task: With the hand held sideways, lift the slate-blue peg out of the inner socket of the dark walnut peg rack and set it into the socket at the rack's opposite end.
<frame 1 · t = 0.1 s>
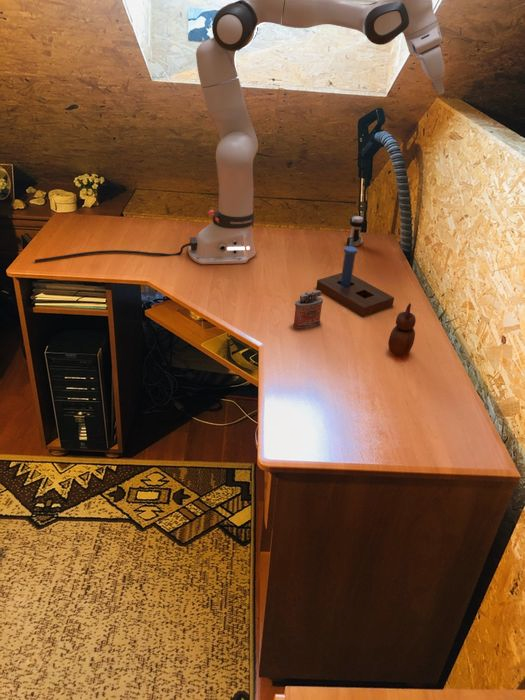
hand: (439, 90, 159), 54 cm above the table, tool tilted 30°, fingers open, 8 cm apart
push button: (355, 245, 205), on the table
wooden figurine: (398, 353, 146), on the table
rack: (353, 297, 170), on the table
lighter: (306, 326, 155), on the table
peg: (344, 292, 173), resting in rack
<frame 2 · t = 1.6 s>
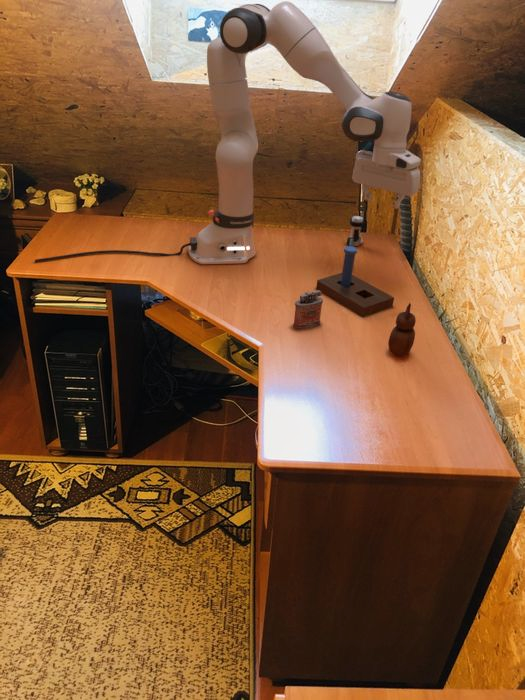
hand: (381, 204, 168), 24 cm above the table, tool pointing down, fingers open, 8 cm apart
nothing on the table moved.
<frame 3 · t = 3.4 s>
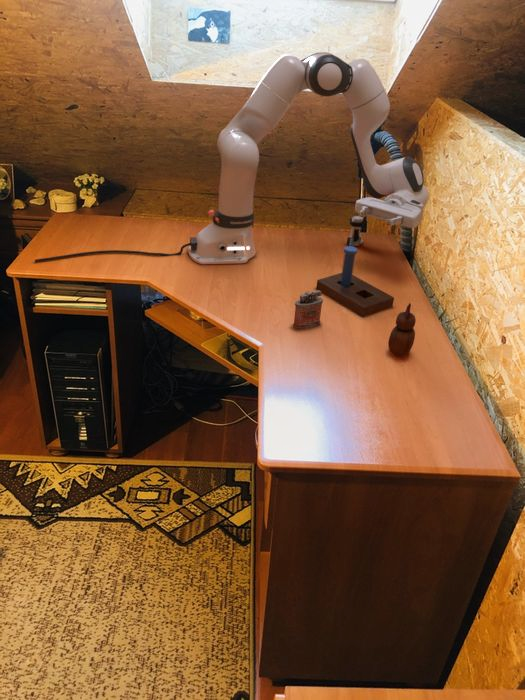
hand: (374, 218, 170), 20 cm above the table, tool horizontal, fingers open, 8 cm apart
nothing on the table moved.
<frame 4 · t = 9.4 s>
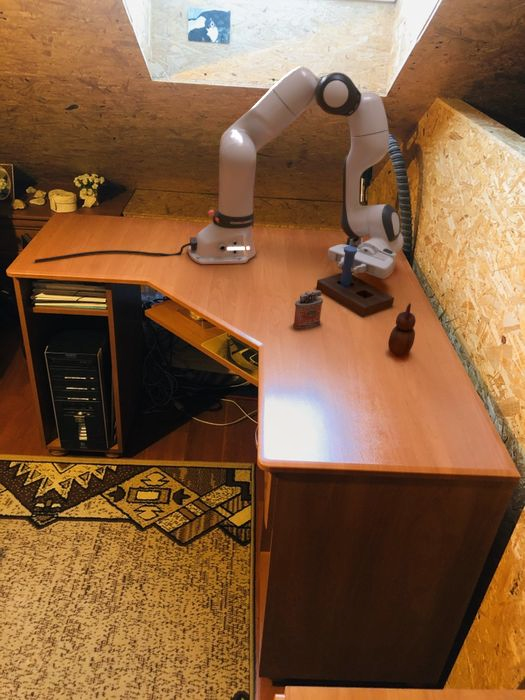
hand: (346, 268, 168), 8 cm above the table, tool horizontal, fingers closed on peg, 3 cm apart
peg: (344, 292, 173), resting in rack, touching gripper
everything else where it was.
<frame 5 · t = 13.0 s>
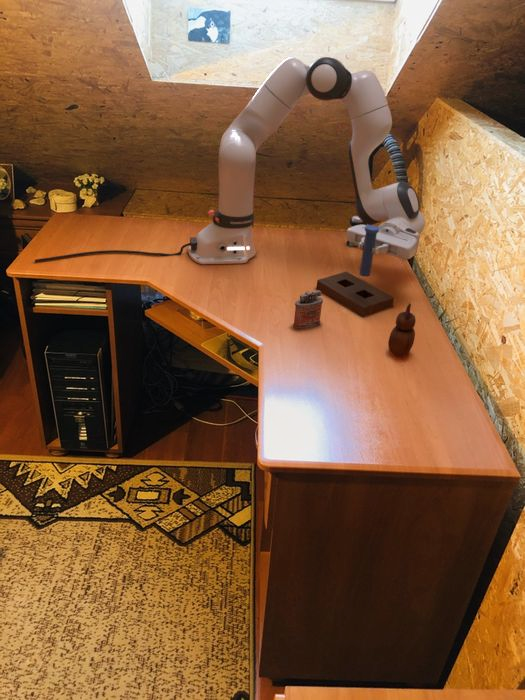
hand: (367, 249, 159), 17 cm above the table, tool horizontal, fingers closed on peg, 3 cm apart
peg: (364, 274, 164), point 9 cm above the table, touching gripper
everything else where it was.
when the fingers open (8 cm above the table, at t = 16.4 s): peg stays where it is, resting in rack.
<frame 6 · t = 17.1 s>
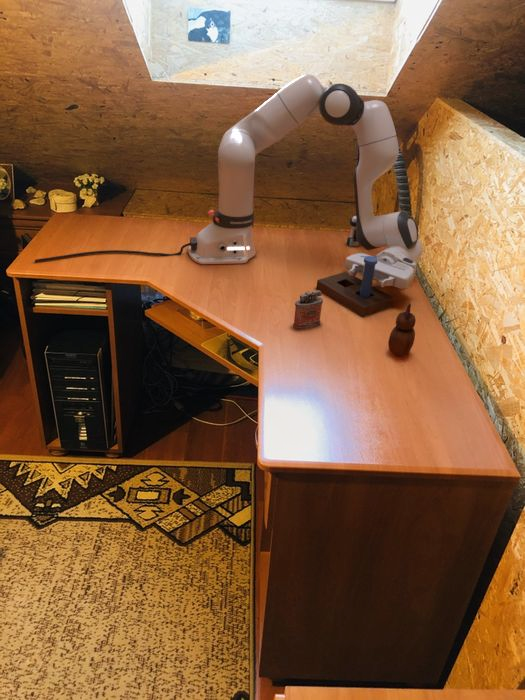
hand: (365, 278, 162), 8 cm above the table, tool horizontal, fingers open, 8 cm apart
peg: (363, 303, 167), resting in rack
everything else where it was.
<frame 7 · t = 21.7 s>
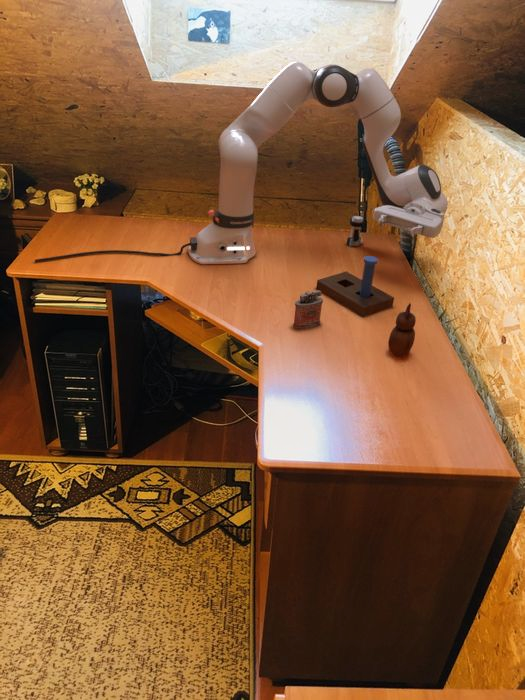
hand: (394, 227, 165), 20 cm above the table, tool horizontal, fingers open, 8 cm apart
nothing on the table moved.
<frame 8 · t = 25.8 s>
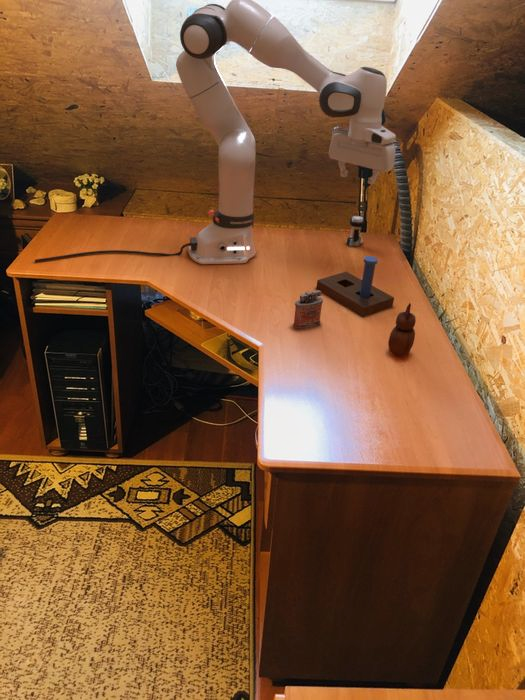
hand: (357, 180, 170), 29 cm above the table, tool pointing down, fingers open, 8 cm apart
nothing on the table moved.
at the end: peg 0.1 cm from the target spot in the rack, point 0.0 cm above the rack's base; peg tilted 0°; the gripper is holding nothing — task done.
